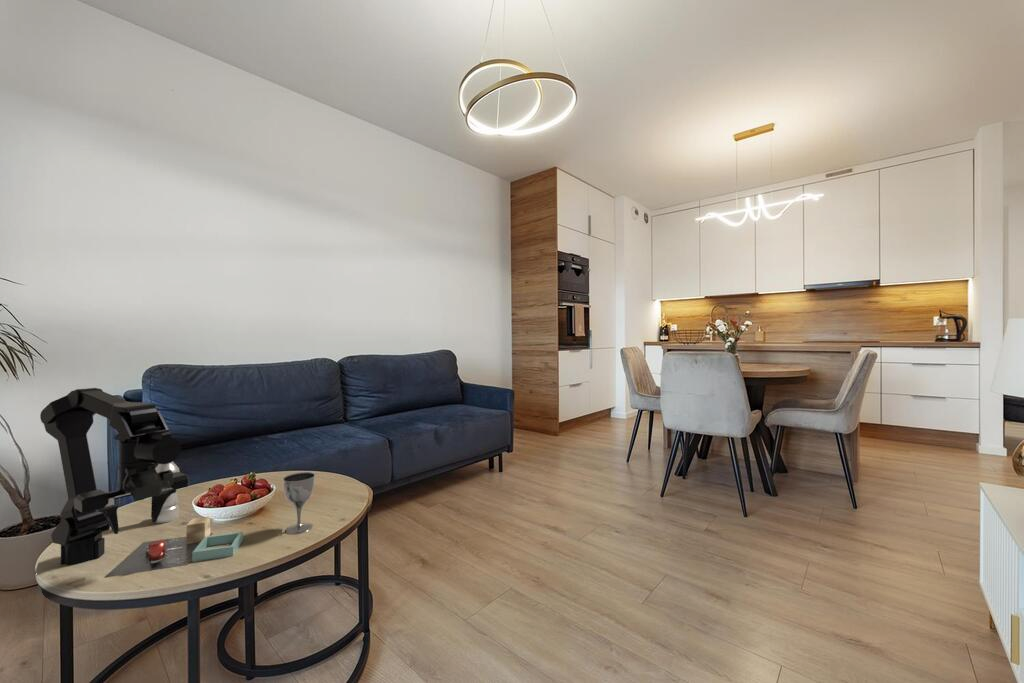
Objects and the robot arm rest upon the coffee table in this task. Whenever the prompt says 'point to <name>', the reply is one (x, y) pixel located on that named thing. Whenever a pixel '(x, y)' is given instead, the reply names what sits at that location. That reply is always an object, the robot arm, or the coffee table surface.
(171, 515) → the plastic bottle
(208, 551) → the tray
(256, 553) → the coffee table surface
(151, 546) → the crank
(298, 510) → the wine glass
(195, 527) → the block
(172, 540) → the bedplate
